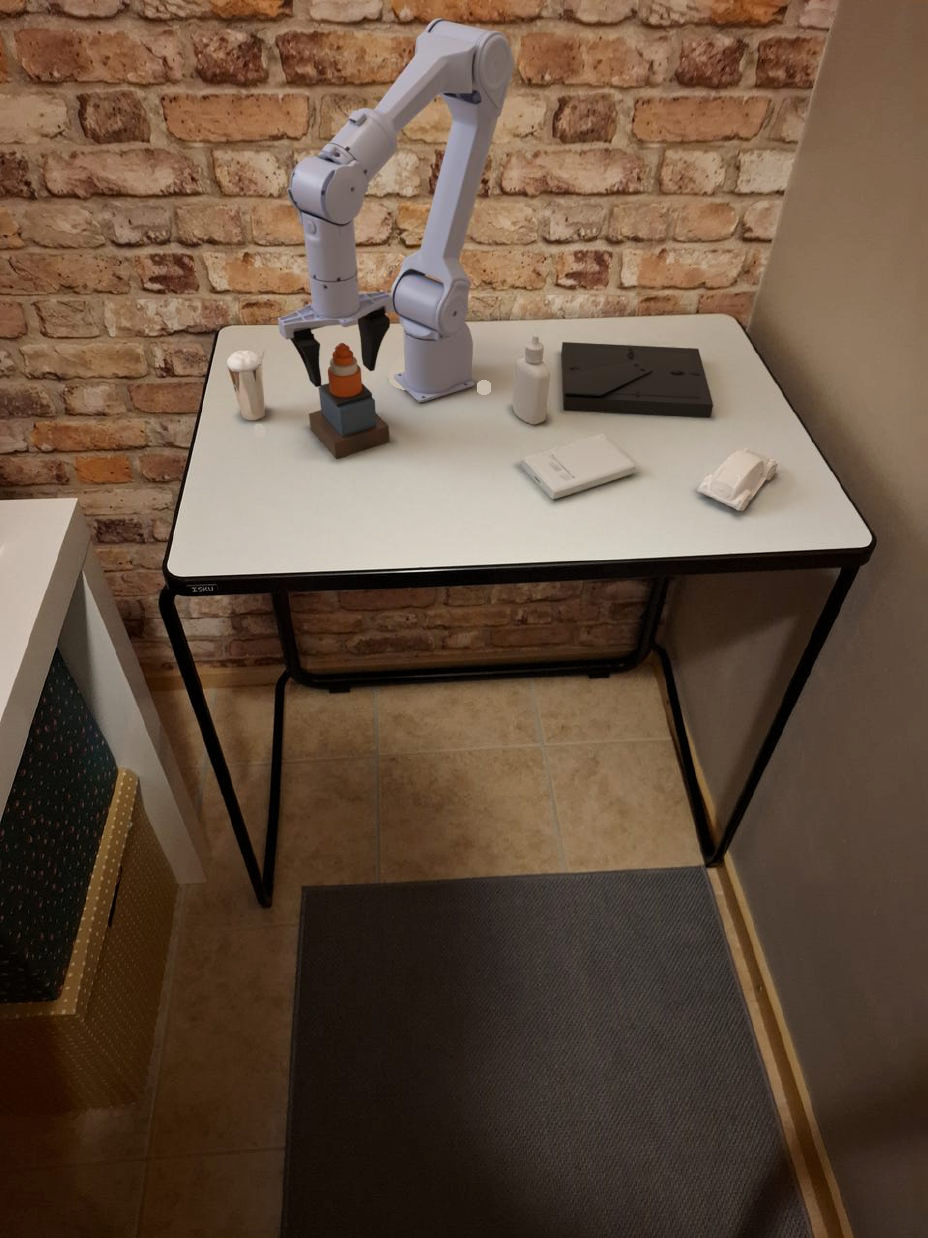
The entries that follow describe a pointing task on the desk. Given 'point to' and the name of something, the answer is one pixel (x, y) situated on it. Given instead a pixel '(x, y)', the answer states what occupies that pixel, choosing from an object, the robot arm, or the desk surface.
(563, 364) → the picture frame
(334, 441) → the base block
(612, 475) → the hard drive
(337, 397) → the cone
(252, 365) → the milkshake
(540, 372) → the eye dropper bottle
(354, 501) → the desk surface
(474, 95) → the robot arm
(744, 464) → the car
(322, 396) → the blue block
